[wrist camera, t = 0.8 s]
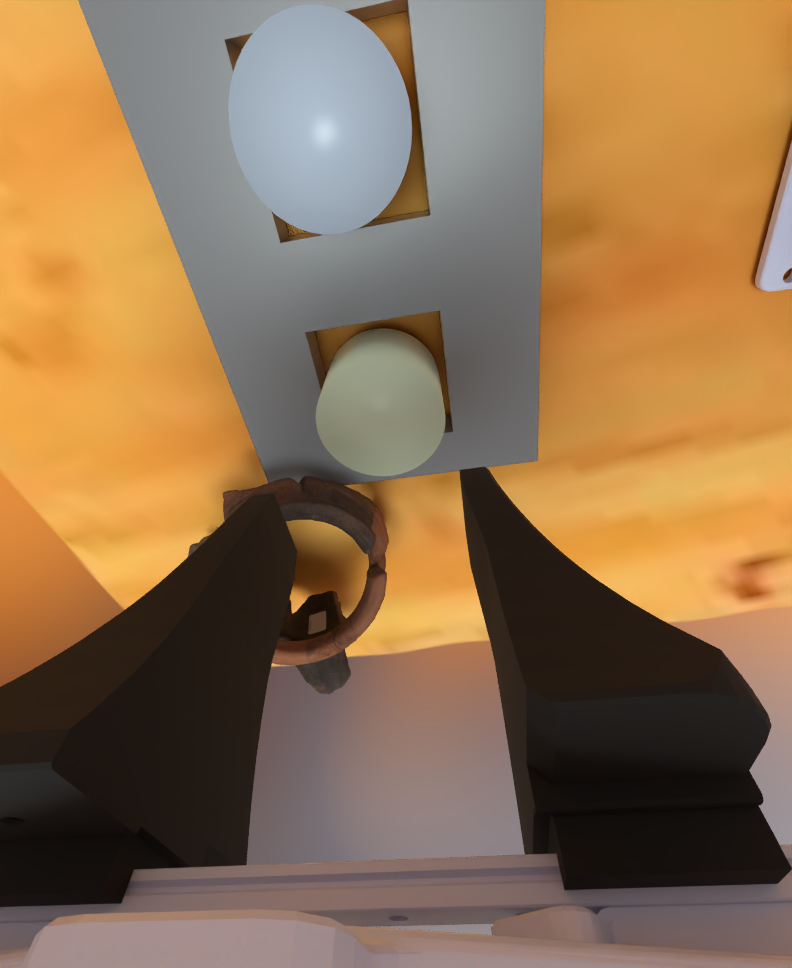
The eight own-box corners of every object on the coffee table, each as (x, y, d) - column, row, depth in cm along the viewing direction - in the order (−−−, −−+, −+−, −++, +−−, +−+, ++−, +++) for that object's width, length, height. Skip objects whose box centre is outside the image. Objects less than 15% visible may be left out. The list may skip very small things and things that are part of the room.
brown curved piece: (162, 498, 24) (129, 552, 17) (326, 423, 26) (365, 440, 19) (267, 671, 28) (280, 779, 21) (404, 594, 30) (462, 667, 22)
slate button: (397, 16, 12) (396, -19, 10) (419, 206, 15) (422, 218, 12) (239, 52, 13) (198, 29, 10) (287, 230, 15) (263, 248, 13)
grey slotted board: (536, -940, 7) (562, -1159, 6) (530, 443, 22) (537, 461, 20) (-139, -648, 8) (-230, -779, 7) (279, 475, 23) (273, 493, 22)
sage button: (432, 319, 17) (437, 350, 14) (445, 425, 20) (451, 468, 17) (315, 338, 17) (299, 371, 15) (342, 439, 20) (333, 483, 17)
